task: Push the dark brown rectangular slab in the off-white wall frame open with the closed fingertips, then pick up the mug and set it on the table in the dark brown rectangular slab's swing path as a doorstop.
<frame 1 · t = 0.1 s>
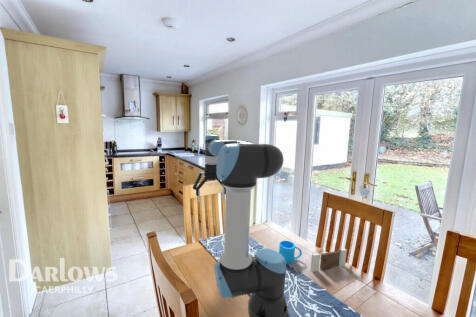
hand: (211, 200, 125), 28 cm above the table, fingers open, 13 cm apart
dark brown rectangular slab: (330, 261, 112), point 4 cm above the table, hinge at 0.0°
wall: (328, 268, 114), on the table
mug: (289, 259, 120), on the table
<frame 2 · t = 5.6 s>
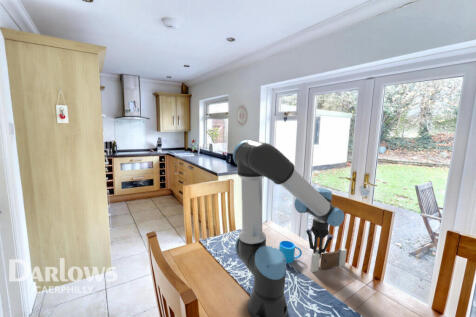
hand: (316, 262, 115), 2 cm above the table, fingers closed
dark brown rectangular slab: (330, 261, 112), point 4 cm above the table, hinge at 0.3°, touching gripper
everything else where it was.
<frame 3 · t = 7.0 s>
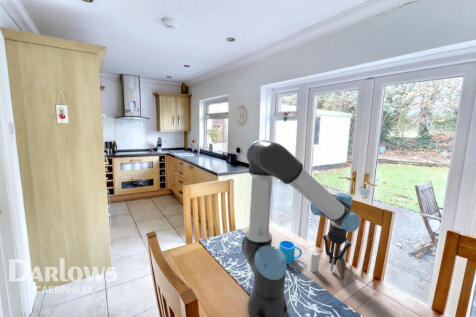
hand: (331, 269, 110), 1 cm above the table, fingers closed
dark brown rectangular slab: (342, 265, 109), point 4 cm above the table, hinge at 60.8°, touching gripper, hand
everything else where it was.
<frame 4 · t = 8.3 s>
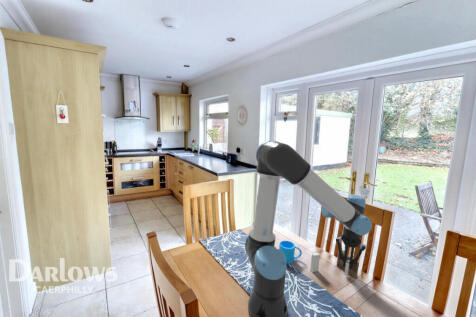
hand: (346, 273, 107), 1 cm above the table, fingers closed
dark brown rectangular slab: (349, 264, 110), point 4 cm above the table, hinge at 98.8°, touching gripper
everything else where it was.
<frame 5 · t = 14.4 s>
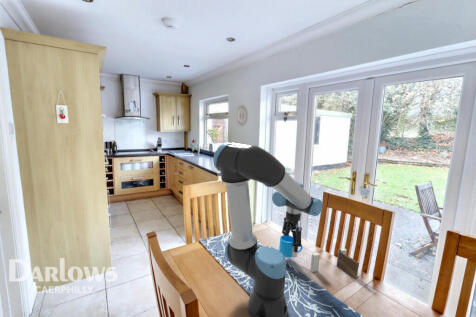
hand: (289, 252, 119), 4 cm above the table, fingers closed on mug, 8 cm apart
dark brown rectangular slab: (349, 264, 110), point 4 cm above the table, hinge at 99.0°
mug: (290, 253, 118), point 4 cm above the table, touching gripper
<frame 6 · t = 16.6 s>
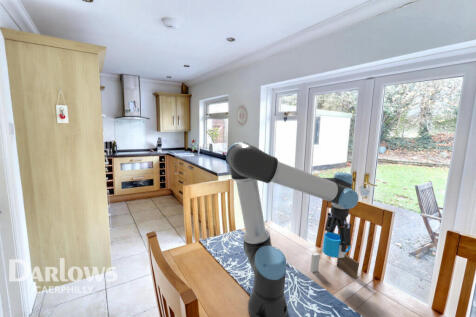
hand: (335, 251, 106), 13 cm above the table, fingers closed on mug, 8 cm apart
mug: (336, 253, 105), point 12 cm above the table, touching gripper
everything else where it was.
when the fingers open (1 cm above the table, at t = 19.1 s): mug stays where it is, on the table.
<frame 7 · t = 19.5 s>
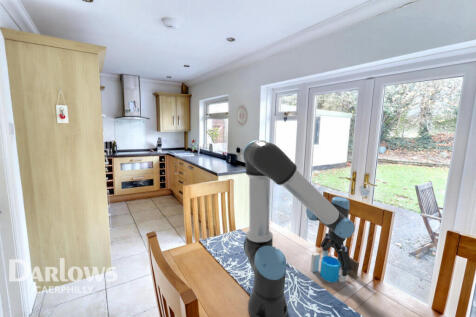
hand: (332, 271, 107), 2 cm above the table, fingers open, 13 cm apart
mug: (333, 277, 107), on the table
everything else where it was.
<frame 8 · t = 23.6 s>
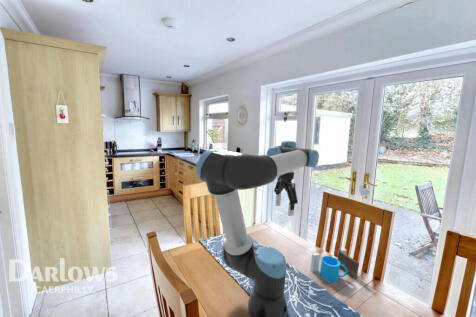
hand: (283, 210, 118), 27 cm above the table, fingers open, 13 cm apart
nothing on the table moved.
at the end: dark brown rectangular slab at +99° (first picture: +0°); mug inside the target area (0.6 cm from its centre), on the table; mug tilted 0° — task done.
